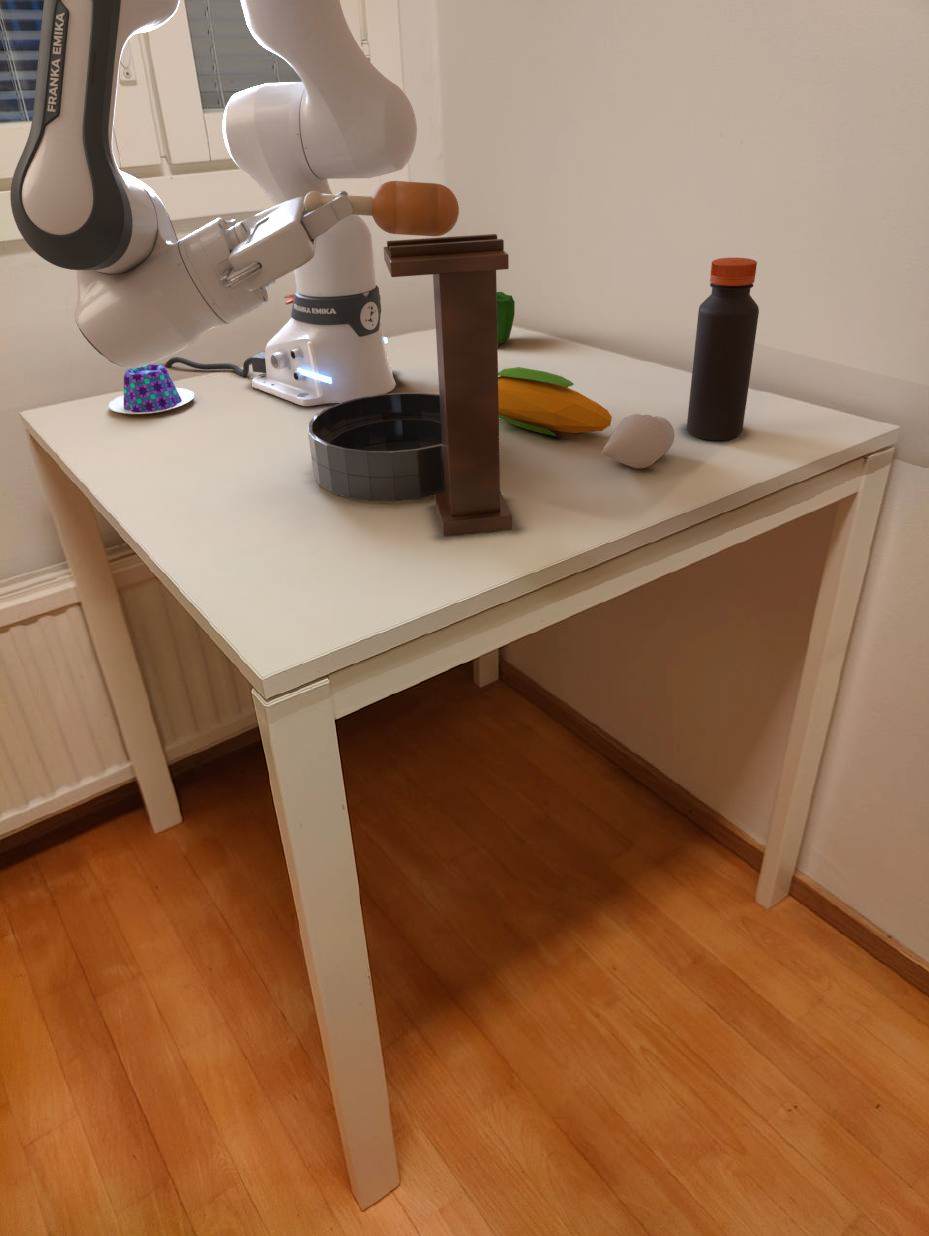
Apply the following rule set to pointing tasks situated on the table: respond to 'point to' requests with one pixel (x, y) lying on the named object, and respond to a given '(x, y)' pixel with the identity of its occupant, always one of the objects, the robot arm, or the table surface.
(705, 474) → the table surface
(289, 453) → the table surface
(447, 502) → the stand
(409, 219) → the drumstick
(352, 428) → the bowl
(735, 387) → the bottle
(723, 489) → the table surface
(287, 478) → the table surface
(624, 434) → the ice cream cone
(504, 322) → the bell pepper
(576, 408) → the corn
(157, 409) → the pudding
